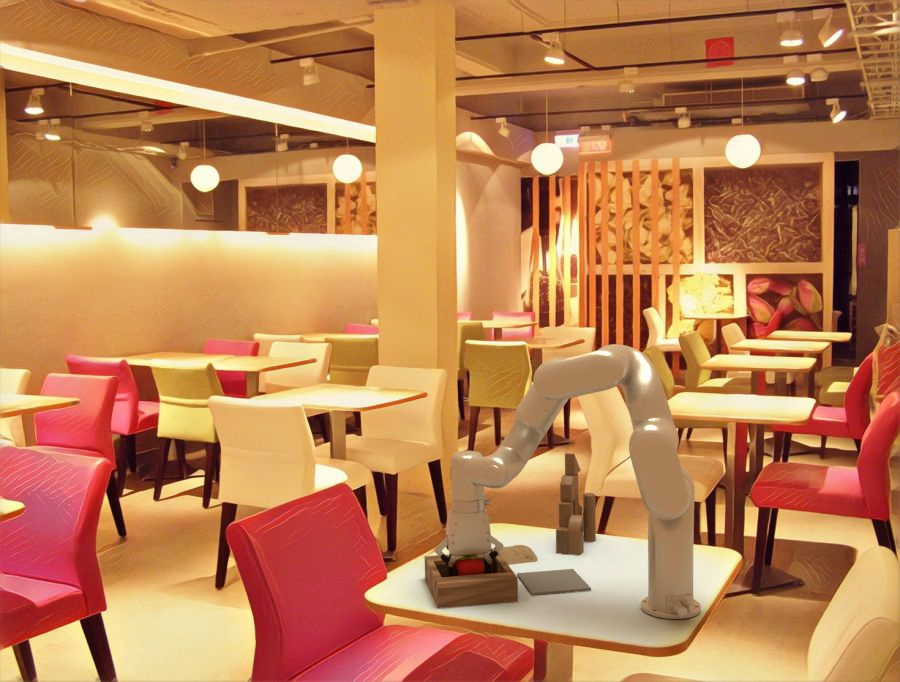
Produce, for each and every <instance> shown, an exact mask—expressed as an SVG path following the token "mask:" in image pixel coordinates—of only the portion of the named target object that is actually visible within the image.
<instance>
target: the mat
mask: <svg viewBox="0 0 900 682" xmlns="http://www.w3.org/2000/svg"><path fill="white" fill-rule="evenodd" d="M516 576H517V577H518V579H519V580H520V582H521V583H522V584H523V586H524V588H526V590H527V591H528V592H529V594H530V595H531V596H541V595H553V594H566V592H568V593H576V592H575V591H580V592H586V591H585V590H591V591H592V587H591V586H590V585H589V584H588V583H587V582H586V580H584V579H583V578H582V577H581V576H580V575H579V573H578V572H577V571H576V570H575V569H574V568H566V569H565V568H564V569H555V570H554V569H553V570H541V571H540V570H539V571H527V572H517V573H516Z"/></svg>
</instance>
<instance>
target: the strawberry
mask: <svg viewBox="0 0 900 682" xmlns="http://www.w3.org/2000/svg"><path fill="white" fill-rule="evenodd" d="M476 555H477V554H476ZM476 555H462V556H464V557H462V558H458V559H457V560H456V561H455V562H454V566H455V568H456V575H457V576H467V575H480V574H484V570H485V565H484V562H483V561H482V560H480V559H478V558H475V557H480V556H476Z"/></svg>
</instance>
